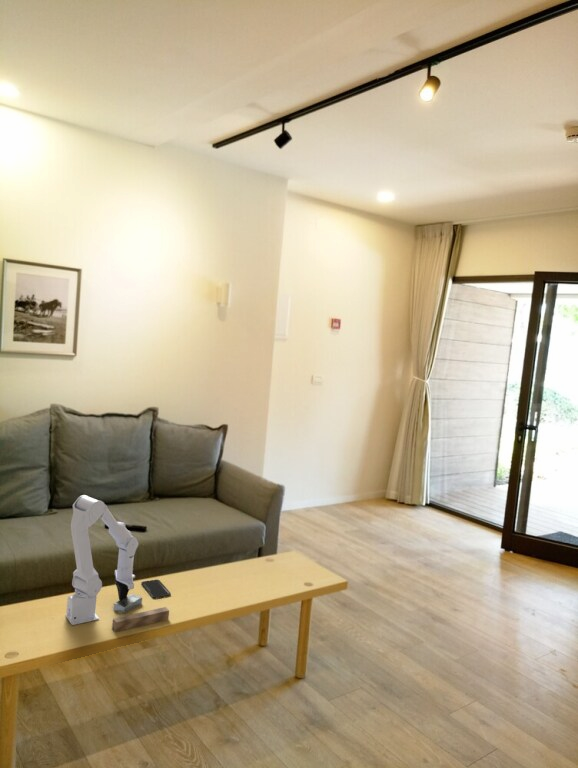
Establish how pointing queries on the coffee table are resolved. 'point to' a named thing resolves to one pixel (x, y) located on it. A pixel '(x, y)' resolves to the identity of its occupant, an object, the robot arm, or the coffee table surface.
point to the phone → (155, 589)
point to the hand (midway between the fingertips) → (122, 600)
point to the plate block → (127, 603)
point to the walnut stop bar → (140, 619)
